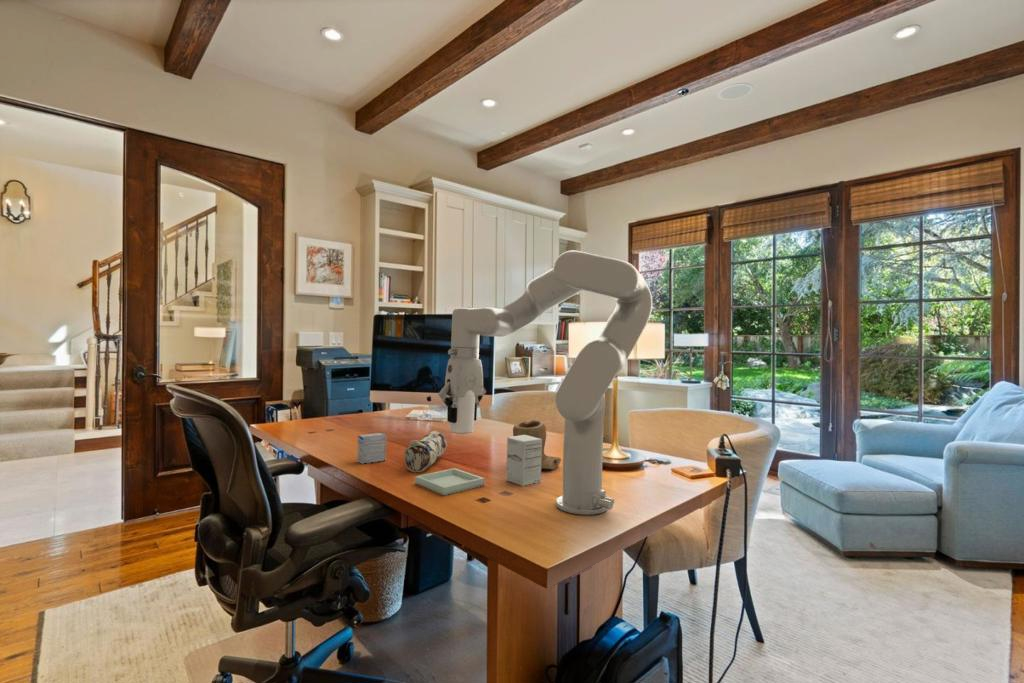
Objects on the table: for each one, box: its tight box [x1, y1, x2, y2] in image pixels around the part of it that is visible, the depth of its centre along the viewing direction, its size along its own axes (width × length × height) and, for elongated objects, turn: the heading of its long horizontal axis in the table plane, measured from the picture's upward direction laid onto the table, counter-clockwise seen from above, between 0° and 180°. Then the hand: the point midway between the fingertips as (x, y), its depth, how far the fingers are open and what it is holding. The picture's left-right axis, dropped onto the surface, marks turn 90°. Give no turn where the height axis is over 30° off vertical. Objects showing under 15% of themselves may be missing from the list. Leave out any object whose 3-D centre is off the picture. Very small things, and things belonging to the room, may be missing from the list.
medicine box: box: [357, 432, 387, 465], centre depth 158 cm, size 8×4×9 cm, turn 130°
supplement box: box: [505, 435, 542, 487], centre depth 139 cm, size 7×7×13 cm
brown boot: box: [512, 419, 562, 470], centre depth 154 cm, size 15×12×15 cm
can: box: [449, 388, 475, 435], centre depth 130 cm, size 6×6×12 cm
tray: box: [414, 467, 486, 497], centre depth 134 cm, size 14×14×2 cm
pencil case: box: [403, 430, 448, 473], centre depth 156 cm, size 22×8×10 cm, turn 174°
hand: (462, 420), depth 130 cm, fingers closed on can, 6 cm apart
